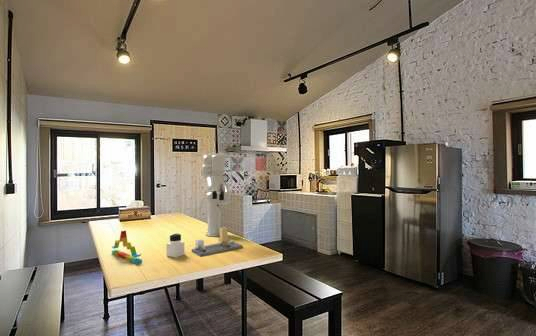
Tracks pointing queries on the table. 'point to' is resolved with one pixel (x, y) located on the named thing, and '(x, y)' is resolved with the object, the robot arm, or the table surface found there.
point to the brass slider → (224, 235)
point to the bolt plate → (214, 247)
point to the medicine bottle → (175, 246)
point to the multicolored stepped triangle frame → (126, 256)
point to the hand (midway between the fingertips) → (218, 199)
